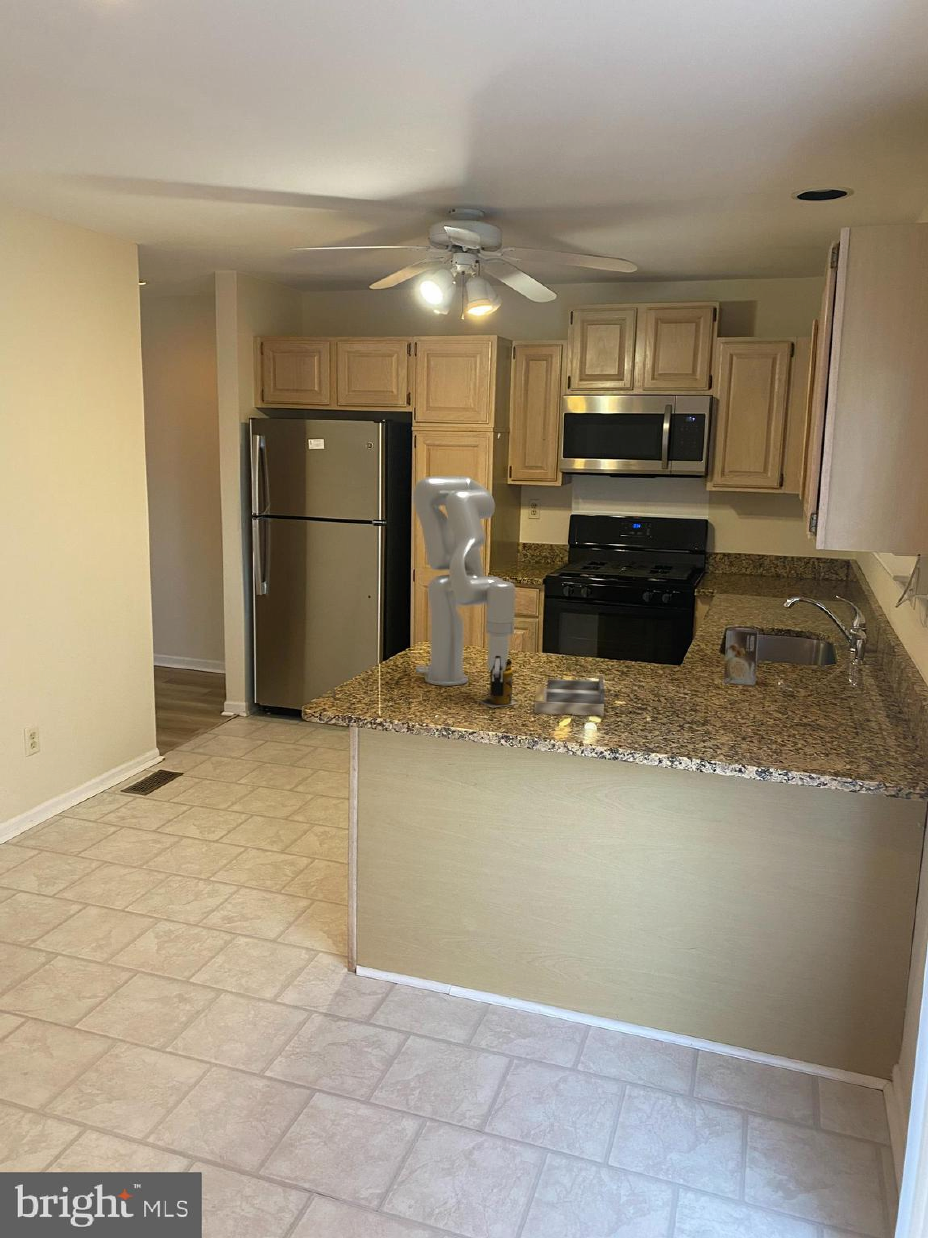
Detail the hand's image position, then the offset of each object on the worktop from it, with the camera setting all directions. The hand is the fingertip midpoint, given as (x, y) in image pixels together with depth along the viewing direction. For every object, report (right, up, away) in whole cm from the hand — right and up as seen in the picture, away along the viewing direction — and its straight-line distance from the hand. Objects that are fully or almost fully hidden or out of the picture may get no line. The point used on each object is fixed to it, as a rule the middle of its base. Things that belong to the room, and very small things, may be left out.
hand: (498, 691), depth 252 cm
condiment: (0, -3, 0) cm, 3 cm away
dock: (+19, -4, -2) cm, 19 cm away
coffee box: (+73, +1, +26) cm, 78 cm away
